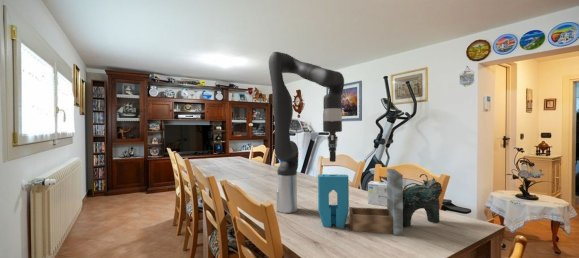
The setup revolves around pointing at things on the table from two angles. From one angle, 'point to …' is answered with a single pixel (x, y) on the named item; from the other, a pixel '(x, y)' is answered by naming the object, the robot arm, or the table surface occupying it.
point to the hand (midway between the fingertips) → (332, 160)
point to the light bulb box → (377, 193)
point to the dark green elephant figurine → (421, 200)
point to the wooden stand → (382, 210)
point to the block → (339, 211)
